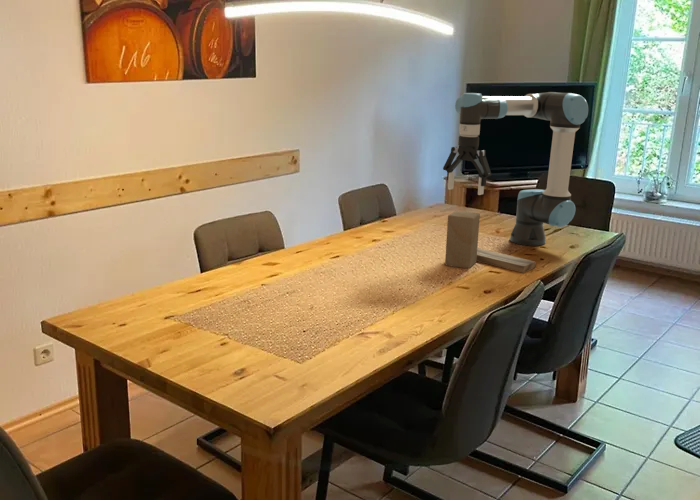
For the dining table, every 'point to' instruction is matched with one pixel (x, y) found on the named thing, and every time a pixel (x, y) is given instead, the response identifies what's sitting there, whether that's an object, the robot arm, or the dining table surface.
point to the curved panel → (504, 260)
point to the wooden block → (462, 239)
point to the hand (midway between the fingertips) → (465, 191)
